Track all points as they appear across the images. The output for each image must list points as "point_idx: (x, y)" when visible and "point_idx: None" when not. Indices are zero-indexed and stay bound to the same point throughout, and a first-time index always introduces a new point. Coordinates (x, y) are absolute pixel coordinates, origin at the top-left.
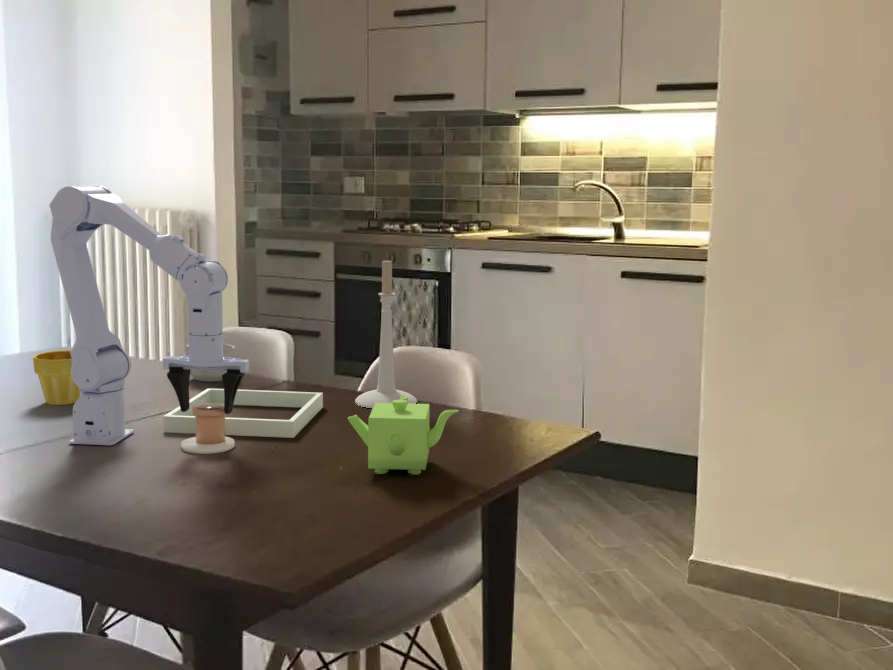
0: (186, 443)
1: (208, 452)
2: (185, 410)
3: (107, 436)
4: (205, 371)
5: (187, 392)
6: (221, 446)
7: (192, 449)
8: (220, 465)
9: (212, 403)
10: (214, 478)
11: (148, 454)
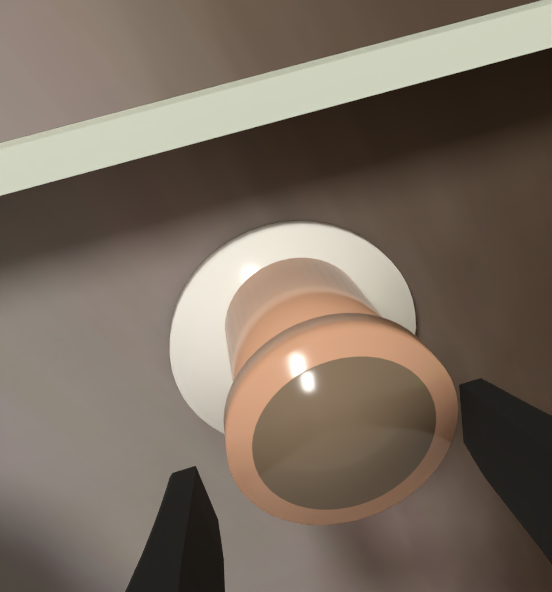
0: (218, 403)
1: None
2: (216, 519)
3: None
4: None
5: (192, 581)
6: None
7: None
8: (451, 484)
9: (306, 355)
10: (483, 566)
11: (135, 509)
